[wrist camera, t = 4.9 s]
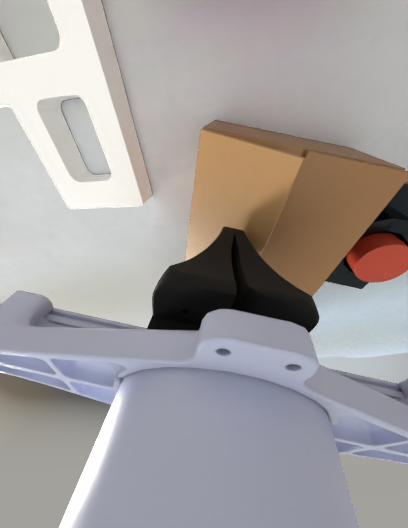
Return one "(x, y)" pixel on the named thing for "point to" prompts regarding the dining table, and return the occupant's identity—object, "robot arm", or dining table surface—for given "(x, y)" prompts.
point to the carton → (321, 203)
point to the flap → (238, 190)
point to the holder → (94, 96)
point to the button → (378, 257)
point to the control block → (388, 221)
